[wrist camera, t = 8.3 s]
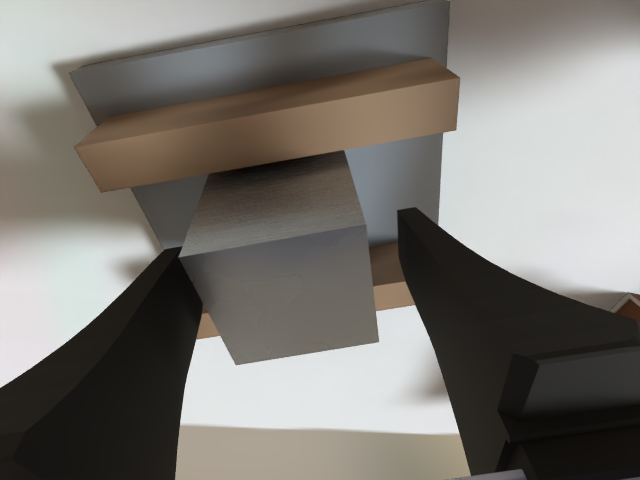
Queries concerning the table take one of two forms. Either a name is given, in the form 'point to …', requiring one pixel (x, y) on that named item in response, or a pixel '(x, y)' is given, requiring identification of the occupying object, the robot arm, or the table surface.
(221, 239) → the steel block
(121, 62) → the slot seat
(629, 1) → the table surface
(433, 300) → the robot arm
